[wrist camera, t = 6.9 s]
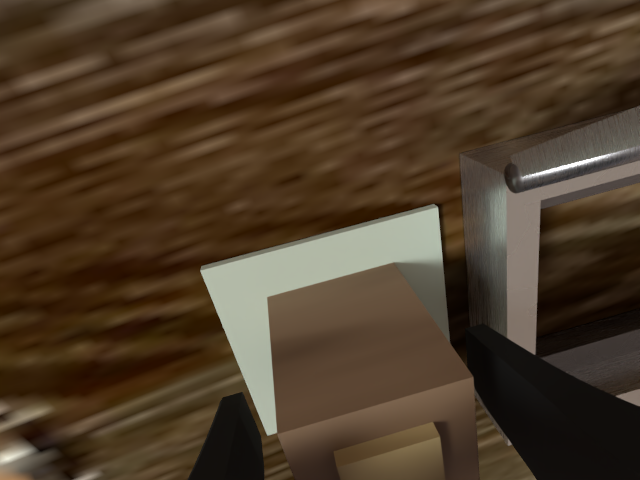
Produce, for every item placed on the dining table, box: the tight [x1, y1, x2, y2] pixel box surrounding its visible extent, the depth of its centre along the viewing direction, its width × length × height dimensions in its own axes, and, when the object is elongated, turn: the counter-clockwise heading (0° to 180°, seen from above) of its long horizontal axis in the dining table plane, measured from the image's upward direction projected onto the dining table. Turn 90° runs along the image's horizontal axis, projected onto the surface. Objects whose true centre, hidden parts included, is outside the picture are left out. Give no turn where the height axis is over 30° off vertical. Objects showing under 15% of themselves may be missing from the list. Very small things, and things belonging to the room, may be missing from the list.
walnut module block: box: [267, 262, 480, 480], centre depth 12 cm, size 4×4×6 cm
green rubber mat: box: [200, 204, 450, 436], centre depth 15 cm, size 8×8×1 cm
